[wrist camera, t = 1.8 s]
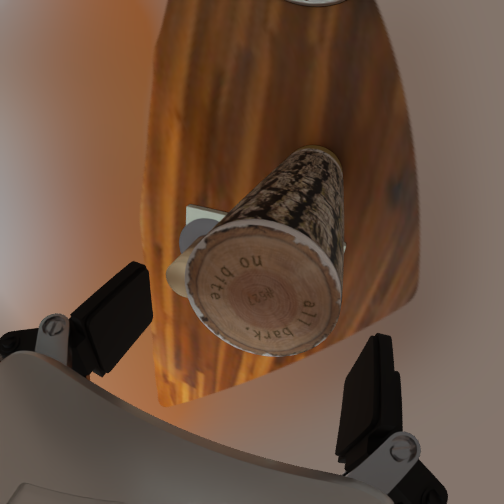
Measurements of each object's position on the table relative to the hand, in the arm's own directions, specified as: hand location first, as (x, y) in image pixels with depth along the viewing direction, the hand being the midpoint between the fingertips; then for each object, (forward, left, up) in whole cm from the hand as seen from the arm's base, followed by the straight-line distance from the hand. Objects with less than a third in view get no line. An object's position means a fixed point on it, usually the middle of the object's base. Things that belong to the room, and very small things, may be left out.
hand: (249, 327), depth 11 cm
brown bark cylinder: (0, 0, -26) cm, 26 cm away
